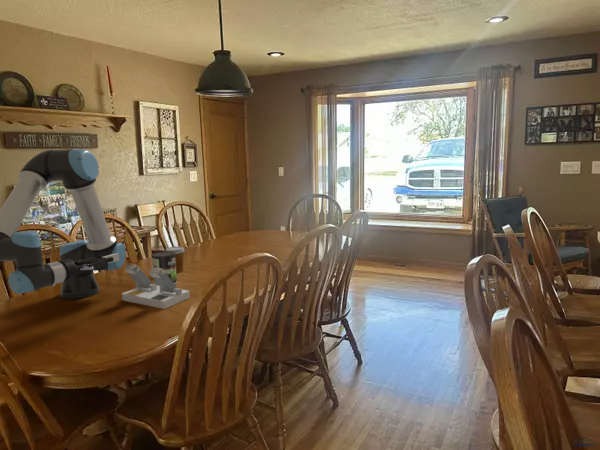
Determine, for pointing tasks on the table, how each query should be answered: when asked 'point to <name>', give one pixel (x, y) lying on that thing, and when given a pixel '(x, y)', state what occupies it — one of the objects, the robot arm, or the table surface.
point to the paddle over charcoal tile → (162, 280)
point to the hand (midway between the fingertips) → (117, 256)
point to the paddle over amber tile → (138, 276)
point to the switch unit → (155, 296)
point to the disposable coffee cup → (178, 257)
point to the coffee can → (165, 264)
